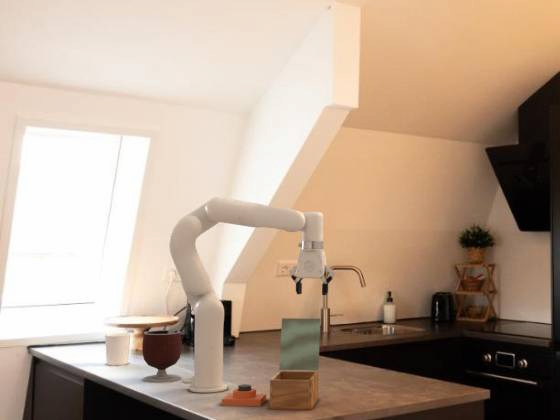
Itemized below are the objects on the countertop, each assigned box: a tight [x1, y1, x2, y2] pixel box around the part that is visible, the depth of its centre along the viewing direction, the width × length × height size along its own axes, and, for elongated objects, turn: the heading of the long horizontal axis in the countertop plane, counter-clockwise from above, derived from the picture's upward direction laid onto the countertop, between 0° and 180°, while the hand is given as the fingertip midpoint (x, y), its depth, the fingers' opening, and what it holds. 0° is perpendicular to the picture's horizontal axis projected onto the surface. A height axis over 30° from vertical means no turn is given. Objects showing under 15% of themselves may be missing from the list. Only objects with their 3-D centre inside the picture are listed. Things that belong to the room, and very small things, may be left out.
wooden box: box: [269, 370, 319, 411], centre depth 237 cm, size 16×13×9 cm
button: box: [237, 383, 252, 391], centre depth 239 cm, size 4×4×2 cm
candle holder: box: [104, 332, 131, 366], centre depth 313 cm, size 10×10×12 cm
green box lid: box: [278, 317, 321, 371], centre depth 248 cm, size 16×13×1 cm
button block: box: [221, 387, 267, 407], centre depth 239 cm, size 12×9×4 cm
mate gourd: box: [141, 321, 183, 383], centre depth 280 cm, size 16×14×20 cm
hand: (311, 294), depth 271 cm, fingers open, 9 cm apart
